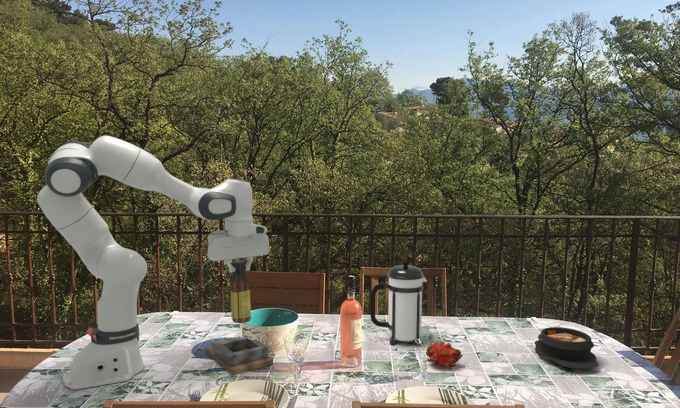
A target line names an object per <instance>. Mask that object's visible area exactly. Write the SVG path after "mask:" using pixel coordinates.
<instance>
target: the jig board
mask: <svg viewBox="0 0 680 408" xmlns="http://www.w3.org/2000/svg"><path fill="white" fill-rule="evenodd" d="M245 337H246V336H242V337H241V336H235V337H231V338H230V337H229V338H226V339H222V340H217V341H212V346H209V347H206V348H205V353H206V355H208V356H209V357H210V358H212V360H213V361H215V362H216V363H217V364H218V365H219V366H220V367H222V368H223V369H225V370H226V372H228V374H230V375H232V376H235V375H238V374H242V373H246V372H249V371H252V370H253V371H254V370H257V369H260V368H261V369H262V368H264V367H267V366H272V365H274V359H273V358H272V357H270V356H269V347H268V346H267V345H266V344H264V343H262V342H261V341H259V340H258V339H256V340H251V339H248V338H245ZM257 340H258V341H257Z"/></svg>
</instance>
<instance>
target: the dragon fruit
mask: <svg viewBox="0 0 680 408" xmlns="http://www.w3.org/2000/svg"><path fill="white" fill-rule="evenodd" d="M425 355H426V356H427V357H428V358H427V361H428V363H434V366H436V367H437V366H438V367H439V368H440V369H444V367H448V368H450V369H452V368H455V367H456V364H457V363H458V362H459V361H460V360H461V358H462V357H463V356H464V354H462V352H461V350H460V349H457V348H454V347H452V343H450V342H448V343H445V341H440V342H437V341H433V343H431V344H429V346H427V347H426V351H425Z"/></svg>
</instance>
